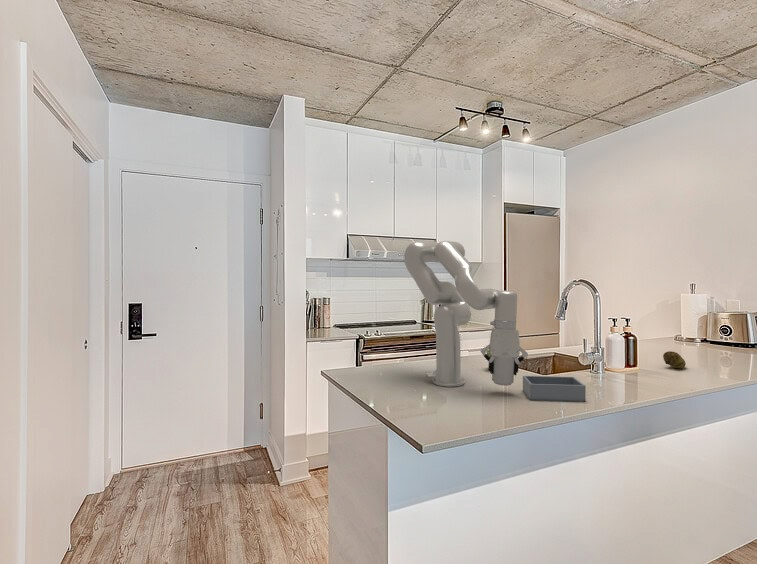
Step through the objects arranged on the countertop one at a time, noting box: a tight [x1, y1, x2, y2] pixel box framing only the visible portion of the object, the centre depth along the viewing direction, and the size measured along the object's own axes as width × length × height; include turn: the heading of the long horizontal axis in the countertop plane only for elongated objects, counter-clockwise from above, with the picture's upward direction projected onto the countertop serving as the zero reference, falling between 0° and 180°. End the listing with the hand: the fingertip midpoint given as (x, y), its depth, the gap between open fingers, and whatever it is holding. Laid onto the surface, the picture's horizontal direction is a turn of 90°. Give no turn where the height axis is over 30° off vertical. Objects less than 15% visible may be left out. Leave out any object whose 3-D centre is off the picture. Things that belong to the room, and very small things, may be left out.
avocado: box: [662, 350, 687, 370], centre depth 188 cm, size 8×13×8 cm, turn 108°
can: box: [491, 353, 515, 387], centre depth 151 cm, size 8×8×12 cm
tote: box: [522, 375, 587, 403], centre depth 148 cm, size 18×12×6 cm, turn 82°
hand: (503, 373), depth 151 cm, fingers closed on can, 7 cm apart
